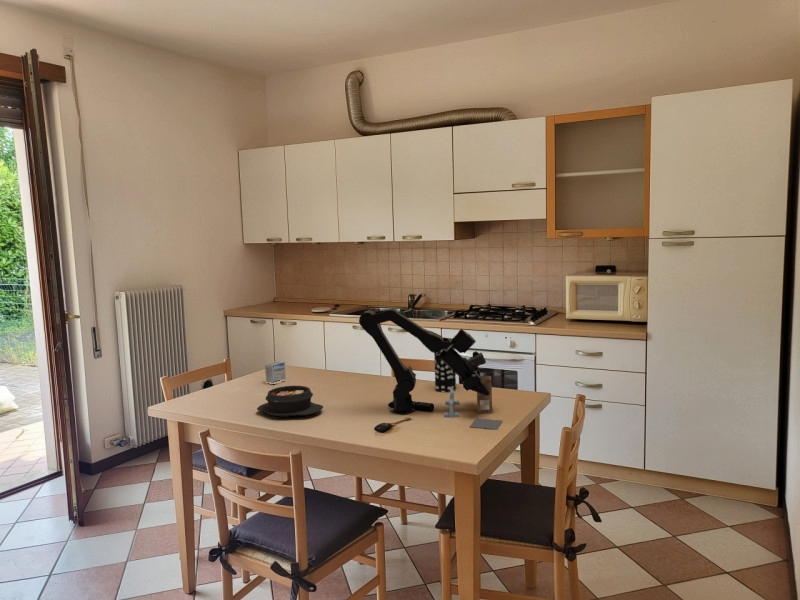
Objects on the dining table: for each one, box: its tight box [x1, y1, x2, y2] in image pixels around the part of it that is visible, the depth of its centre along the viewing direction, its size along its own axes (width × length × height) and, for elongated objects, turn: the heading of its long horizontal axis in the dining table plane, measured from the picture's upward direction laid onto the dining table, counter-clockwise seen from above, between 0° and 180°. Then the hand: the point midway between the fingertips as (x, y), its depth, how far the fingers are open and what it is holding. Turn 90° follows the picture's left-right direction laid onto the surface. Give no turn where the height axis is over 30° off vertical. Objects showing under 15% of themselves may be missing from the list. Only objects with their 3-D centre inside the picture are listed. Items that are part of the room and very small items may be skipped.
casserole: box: [256, 385, 324, 417], centre depth 217 cm, size 25×19×8 cm
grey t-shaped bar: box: [443, 389, 460, 418], centre depth 214 cm, size 18×5×5 cm, turn 174°
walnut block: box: [476, 375, 493, 414], centre depth 211 cm, size 5×5×12 cm
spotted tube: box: [433, 347, 457, 393], centre depth 241 cm, size 8×8×20 cm
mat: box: [469, 418, 503, 430], centre depth 196 cm, size 9×9×1 cm
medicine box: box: [264, 361, 287, 383], centre depth 264 cm, size 8×4×9 cm, turn 147°
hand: (488, 392), depth 210 cm, fingers closed on walnut block, 5 cm apart
